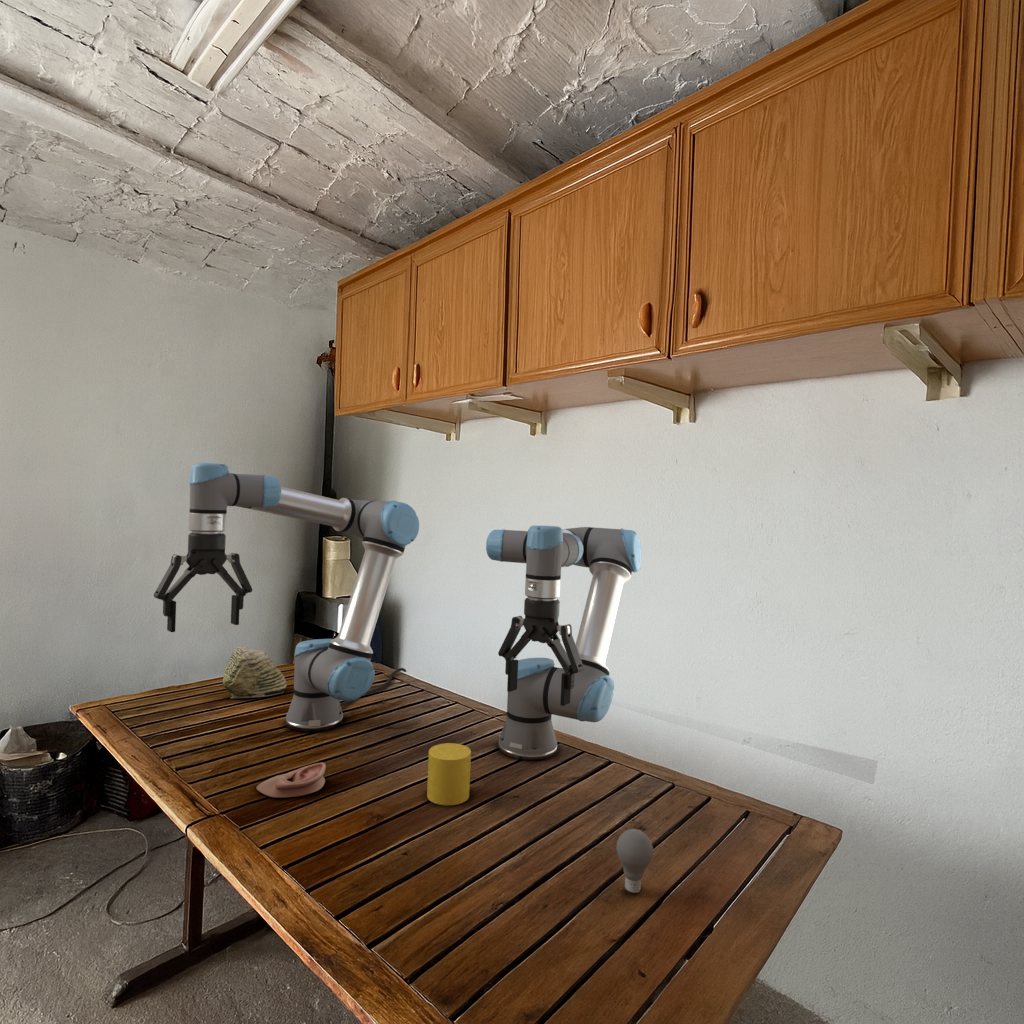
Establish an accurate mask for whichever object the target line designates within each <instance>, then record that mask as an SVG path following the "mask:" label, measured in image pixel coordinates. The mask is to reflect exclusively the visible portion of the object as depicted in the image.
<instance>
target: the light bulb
mask: <svg viewBox="0 0 1024 1024" xmlns="http://www.w3.org/2000/svg"><path fill="white" fill-rule="evenodd" d="M615 849H616V854H617V857H618V859H619V861H620V863H621V865H622V867H623V873H624V874H623V875H624V876H625V878H624V888H625V890H627V891H628V892H630V893H634V894H635V893H639V892H640V891H641V889H642V887H641V886H642V879H643V877H644V875H645V871H646V868H647V867H648V866H649V864H650V863H651V861H652V859H653V855H654V847H653V843H652V841H651V838H649V836H648V835H647V834H646V833H645V832H643V831H642V830H641V829H636V828H629V829H627V830H625V831H623V832H622V833H621V834H620V835H619V837H618V839H617V841H616V847H615Z"/></svg>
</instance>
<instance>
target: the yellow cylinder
mask: <svg viewBox="0 0 1024 1024" xmlns="http://www.w3.org/2000/svg"><path fill="white" fill-rule="evenodd" d="M427 758H428V760H427V761H428V762H427V785H426V786H427V787H426V798H427V799H428V801H430V802H431V803H433V804H436V805H439V806H456V805H457V806H458V805H460V804H462V803H465V802H466V801H468V800H469V798H470V789H471V788H470V786H471V766H472V765H471V764H472V762H471V761H472V750H471V748H469V747H468V746H467V745H464V744H460V743H454V742H446V743H445V742H444V743H439V744H436V745H433V746H431V747H430V748H429V749H428V757H427Z"/></svg>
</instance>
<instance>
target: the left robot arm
mask: <svg viewBox="0 0 1024 1024" xmlns="http://www.w3.org/2000/svg"><path fill="white" fill-rule="evenodd" d="M188 483H189V510H188V511H189V513H188V530H189V532H190V533H188V535H187V536H188V537H187V554H186V555H179V554H172V555H171V558H170V564H169V566H168V568H167V570H166V572H165V573H164V575H163V577H162V579H161V580H160V582H159V584H158V586H157V587H156V590H155V591H154V593H153V598H155V599H158V600H160V601H162V615H163V616H164V617H167V620H166V621H167V624H166V631H167V632H170V633H175V632H176V621H177V620H176V619H177V601H176V600H174V599H175V598H176V597H177V596H178V594H179V593H180V592H181V591H182V590H183V589H184V587H186V585H187V584H188V583H189V582H190V581H191V579H193V578H194V577H195V576H197V575H200V576H205V575H208V574H209V575H215V574H217V575H218V576H219V577H220V578H221V579H222V580H223V581H224V582H225V583H226V585H227V586H228V587H229V589H231V590H232V592H233V593H234V594H232V595H231V601H230V602H231V605H230V606H231V607H230V624H231V625H234V626H239V625H240V610H243V609H244V599H245V596H246V595H247V594H249V593H252V592H253V587H252V585H251V583H250V581H249V579H248V577H247V575H246V572H245V570H244V569H243V566H242V564H241V559H240V554H239V553H237V552H231V553H229V554H226V539H227V537H226V534H225V533H224V532H225V531H227V512H228V507H237V508H243V509H248V510H252V511H258V512H263V513H267V514H273V515H277V516H282V517H287V518H291V519H296V520H301V521H305V522H310V523H315V524H321V525H325V526H330V527H332V528H333V529H334V530H335V531H336V532H341V533H345V534H349V535H351V536H355V537H357V538H359V539H362V541H361V544H362V546H363V548H364V554H363V556H362V559H361V563H360V565H359V569H358V572H357V575H356V579H355V582H354V585H353V588H352V590H351V594H350V597H349V600H348V603H347V607H346V610H345V612H344V616H343V620H342V622H341V625H340V629H339V632H338V635H337V636H336V637H335V638H319V639H308V640H303V641H300V642H297V644H296V646H295V650H294V655H293V657H294V672H293V695H292V696H293V697H292V699H291V702H290V704H289V708H288V711H287V713H286V715H285V726H286V728H287V729H289V730H291V731H294V732H295V731H296V732H301V733H316V732H325V731H329V730H332V729H335V728H337V727H339V726H340V725H342V723H343V722H344V713H343V709H342V707H344V706H346V705H348V704H349V703H350V702H353V701H357V700H359V699H360V698H361V697H363V696H366V695H370V694H373V693H376V692H377V691H380V690H382V689H384V688H386V687H387V686H388V685H389V683H390V682H391V680H392V678H393V676H394V675H396V674H397V673H399V672H400V671H402V672H403V673H407V669H405V668H404V667H399V668H397V669H396V670H393V672H391V673H390V674H389V676H388V678H387V680H386V681H385V682H384V683H383V684H381V685H379V686H377V687H375V688H372V685H373V683H374V681H375V674H376V672H375V668H374V665H373V664H372V662H371V661H372V658H373V654H374V650H373V649H372V647H371V641H372V639H373V635H374V632H375V628H376V624H377V622H378V619H379V615H380V612H381V608H382V605H383V602H384V599H385V595H386V593H387V589H388V586H389V582H390V579H391V576H392V573H393V570H394V566H395V564H396V560H397V559H398V558H400V557H402V556H403V555H404V553H405V549H406V546H408V545H410V544H411V543H412V542H414V541H415V540H416V539H417V537H418V534H419V531H420V520H419V517H418V515H417V512H416V510H415V509H414V508H413V507H412V506H410V505H409V504H408V503H406V502H401V501H398V500H374V499H371V500H370V499H369V500H368V499H367V500H365V499H364V500H363V499H360V500H359V499H352V498H347V497H341V498H340V499H336V498H332V497H327V496H323V495H320V494H316V493H310V492H306V491H302V490H298V489H294V488H290V487H285V486H282V485H281V482H280V480H279V478H278V477H276V476H274V475H266V474H250V473H249V474H247V473H232V472H230V471H229V466H228V464H225V463H215V462H195V463H194V464H192V465H191V469H190V478H189V482H188ZM185 562H186V564H187V565H188V566H187V568H186V569H185V570H184V571H183V573H182V574H181V576H180V577H179V578H178V579H177V580H176V581H175V582H174V583H173V581H174V579H175V578H176V575H177V574H178V572H179V571H180V569H181V566H183V565H184V564H185ZM226 562H228V563H229V564H230V565H231V568H232V569H233V572H234V574H235V577H236V578H237V580H238V582H239V583H238V582H237V581H235V579H234V578H233V576H231V575H230V574H229V572H228V570H227V569H226V568H225V567H224V564H225V563H226ZM172 583H173V584H172ZM239 584H240V585H239ZM170 586H171V587H170ZM371 688H372V689H371ZM340 701H342V702H340Z"/></svg>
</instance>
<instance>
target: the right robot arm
mask: <svg viewBox="0 0 1024 1024" xmlns="http://www.w3.org/2000/svg"><path fill="white" fill-rule="evenodd" d="M641 546H642V545H641V541H640V537H639V535H638V533H637V532H636V531H634V530H632V529H625V528H609V527H593V526H581V527H569V528H561V527H560V526H555V525H531V526H529V528H528V529H527V530H513V529H503V528H502V529H493V530H491V531H490V532H489V533H488V535H487V538H486V541H485V550H486V551H485V552H486V554H487V557H488V559H490V560H492V561H498V562H501V563H502V562H504V563H515V564H525V584H524V595H525V596H526V598H524V600H523V601H524V605H523V615H524V618H523V616H522V615H517V616H513V617H512V618H511V623H510V627H509V629H508V632H507V633H506V636H505V638H504V640H503V642H502V644H501V646H500V648H499V650H498V651H497V654H498V656H499V657H502V658H504V660H505V671H504V672H505V675H507V688H506V689H507V690H506V692H507V698H506V699H507V703H506V719H505V721H504V724H503V726H502V730H501V732H500V735H499V738H498V746H497V748H498V750H499V752H501V753H502V754H504V755H505V756H506V757H507V756H508V757H511V758H512V759H518V760H523V761H540V760H544V759H549V758H551V757H553V756H555V755H556V753H558V739H557V737H556V733H555V729H554V725H553V722H552V716H558V717H562V718H568V719H572V720H576V721H577V720H578V721H579V722H587V723H598V722H600V721H602V720H603V719H604V718H605V716H606V715H607V714H608V711H609V710H610V707H611V704H612V702H613V697H614V690H615V682H614V679H613V678H612V677H611V676H610V669H609V667H608V666H607V665H606V662H607V660H608V659H607V658H608V654H609V650H610V645H611V642H612V636H613V632H614V627H615V623H616V618H617V614H618V610H619V605H620V601H621V597H622V592H623V587H624V584H626V583H628V582H629V581H630V580H631V577H632V574H633V573H634V574H635V573H638V572H639V571H640V569H641V567H642V547H641ZM571 566H577V567H583V568H588V570H589V573H590V574H591V576H592V578H591V582H590V586H589V589H588V594H587V598H586V600H585V601H586V602H585V605H584V609H583V612H582V613H583V614H582V617H581V620H580V625H579V628H578V633H577V637H576V641H575V639H574V636H573V628H572V625H571V623H568V624H559V617H560V607H561V601H560V600H559V598H560V597H561V579H562V576H561V575H562V568H565V567H567V568H568V567H571ZM522 628H524V630H525V631H524V632H523V633H522V634H521V636H520V638H519V639H518V641H517V642H516V640H517V638H518V635H519V633H520V632H521V630H522ZM558 634H559V635H560V636H561V638H560V637H559V635H558ZM530 641H531V642H538V643H540V644H546V645H547V646H548V647H549V648H550V649H551V651H552V652H553V654H554V656H555V658H556V659H557V661H558V663H559V665H560V666H561V667H556V666H555V665H556V664H555V660H553V659H552V658H550V657H549V658H548V657H526V658H522V659H517V656H518V655H519V654H520V653H521V652H522V651H523V650H524V649H525V647H526V646H527V645H528V644H529V643H530ZM561 641H562V643H561Z"/></svg>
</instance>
